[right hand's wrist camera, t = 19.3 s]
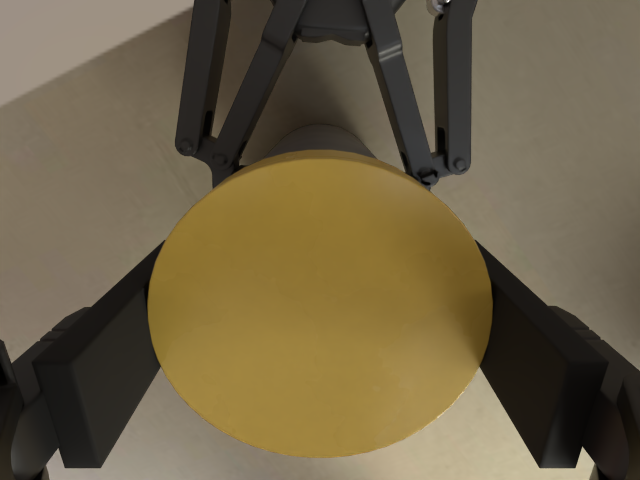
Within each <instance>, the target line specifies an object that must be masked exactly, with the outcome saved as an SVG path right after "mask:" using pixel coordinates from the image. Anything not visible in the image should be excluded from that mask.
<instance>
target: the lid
mask: <svg viewBox="0 0 640 480" xmlns="http://www.w3.org/2000/svg"><path fill="white" fill-rule="evenodd" d="M147 312H148V323H149V329H150V334H151V340H152V345H153V348H154V351H155V354H156V356H157V359H158V361H159V363H160V365H161V367H162V369H163V371H164V373H165V375H166V377H167V378H168V380H169V381H170V383H171V384H172V386H173V387H174V389H175V390H176V392H177V393H178V394H179V395H180V396H181V397H182V398H183V400H184V401H185V402H186V403H187V404H188V405H189V406H190V407H191V408H192V409H193V410H194V411H195V412H196V413H198V414H199V415H200V416H201V417H202V418H203V419H205V420H206V421H207V422H209V423H210V424H212V425H213V426H214V427H216V428H217V429H219V430H221V431H222V432H224V433H226V434H228V435H230V436H231V437H233V438H235V439H237V440H240V441H242V442H244V443H247V444H249V445H251V446H254V447H257V448H261V449H264V450H267V451H270V452H275V453H280V454H285V455H290V456H299V457H309V458H331V457H342V456H351V455H356V454H361V453H366V452H370V451H373V450H376V449H380V448H383V447H386V446H389V445H391V444H394V443H396V442H398V441H401V440H403V439H405V438H407V437H409V436H411V435H412V434H414V433H416V432H418V431H420V430H421V429H423V428H424V427H426V426H427V425H429V424H430V423H431V422H433V421H434V420H436V419H437V418H438V417H439V416H440V415H442V414H443V413H444V412H445V411H446V410H447V409H448V408H449V407H451V406H452V404H453V403H454V402H455V401H456V400H457V399H458V398H459V397H460V395H461V394H462V393H463V392H464V391H465V389H466V388H467V386H468V385H469V383H470V382H471V380H472V379H473V377H474V376H475V374H476V372H477V370H478V368H479V366H480V364H481V362H482V360H483V357H484V354H485V351H486V348H487V345H488V342H489V336H490V331H491V325H492V318H493V298H492V290H491V282H490V278H489V275H488V271H487V268H486V264H485V261H484V259H483V257H482V255H481V252H480V250H479V248H478V246H477V244H476V242H475V240H474V239H473V237H472V236H471V234H470V233H469V231H468V230H467V228H466V227H465V225H464V224H463V223H462V222H461V220H460V219H459V218H458V217H457V216H456V215H455V214H454V213H453V212H452V211H451V210H450V208H449V207H448V206H447V205H445V204H444V203H443V202H442V201H441V200H440V199H438V198H437V197H436V196H435V195H434V194H432V193H431V192H430V191H429V190H428V189H426V188H425V187H424V186H423V185H422V184H420V183H419V182H418V181H417V180H415V179H414V178H413V177H411V176H409V175H408V174H406V173H404V172H403V171H401V170H399V169H398V168H396V167H394V166H391V165H389V164H387V163H384V162H382V161H380V160H377V159H375V158H371V157H367V156H364V155H360V154H357V153H352V152H344V151H337V150H303V151H296V152H288V153H284V154H280V155H276V156H273V157H269V158H265V159H263V160H260V161H258V162H256V163H253V164H251V165H249V166H246V167H244V168H243V169H241V170H239V171H238V172H236V173H234V174H233V175H231V176H229V177H228V178H226V179H225V180H224V181H222V182H221V183H220V184H219V185H217V186H216V187H215V188H214V189H212V190H211V191H210V192H209V193H208V194H206V195H205V196H204V197H203V198H202V199H201V200H199V201H198V202H197V203H196V204H195V205H193V206H192V207H191V209H190V210H189V211H188V212H187V213H186V214H185V215H184V216H183V217H182V218H181V219H180V221H179V222H178V223H177V224H176V226H175V227H174V228H173V230H172V231H171V233H170V234H169V236H168V237H167V239H166V240H165V242H164V244H163V246H162V248H161V251H160V253H159V255H158V257H157V259H156V261H155V265H154V268H153V272H152V275H151V279H150V283H149V291H148V299H147Z"/></svg>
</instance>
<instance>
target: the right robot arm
mask: <svg viewBox="0 0 640 480" xmlns="http://www.w3.org/2000/svg"><path fill="white" fill-rule="evenodd" d="M164 242H165V240H164V241H163V242H162V243H161V244H160V245H159V246H158V247H156V248H155V249H154V250H153V251H152V252H151V253H150V254H149V255H148V256H147V257H145V258H144V259H143V260H142V261H141V262H140V263H139V264H138V265H137V266H136V267H135V268H133V269H132V270H131V271H130V272H129V273H128V274H127V275H126V276H125V277H124V278H123V279H121V280H120V281H119V282H118V283H117V284H116V285H115V286H114V287H113V288H112V289H110V290H109V291H108V292H107V293H106V294H105V295H104V296H103V297H102V298H101V299H100V300H98V301H97V302H96V303H95V304H94V305H93V306H92V307H84V308H82V309H80V310H78V311H76V312H75V313H73V314H71V315H69V316H67V317H65V318H64V319H63V320H62V321H61V322H59V323H58V324H57V325H56V326H55V327H54V328H52V331H49V332H48V333H47V334H45V335H44V336H43V337H42V338H41V339H40V341H37V342H36V343H35V344H34V345H33V346H31V347H30V348H29V349H28V350H27V351H26V352H25V353H23V354H22V355H21V356H20V357H19V358H18V359H16V360H15V361H14V362H13V363H12V364H11V361H10V358H9V355H8V353H7V350H6V347H5V344H4V341H2V340H0V480H49V474H48V470H47V467H46V464H47V462H48V461H49V460H50V458H51V457H52V456H53V454H54V453H55V452H56V450H57V449H58V448H59V451H60V454H61V457H62V460H63V464H64V467H65V468H101V467H102V465H103V463H104V462H105V460H106V458H107V457H108V455H109V453H110V451H111V450H112V448H113V446H114V445H115V443H116V441H117V440H118V438H119V436H120V435H121V433H122V431H123V430H124V428H125V426H126V424H127V423H128V421H129V419H130V418H131V416H132V414H133V413H134V411H135V409H136V408H137V406H138V404H139V403H140V401H141V399H142V397H143V396H144V394H145V392H146V391H147V389H148V387H149V386H150V384H151V382H152V381H153V379H154V377H155V376H156V374H157V372H158V370H159V369H160V367H161V365H160V363H159V361H158V359H157V356H156V354H155V351H154V348H153V345H152V340H151V334H150V329H149V323H148V312H147V299H148V291H149V283H150V279H151V275H152V272H153V268H154V265H155V261H156V259H157V257H158V255H159V253H160V251H161V248H162V246H163V244H164ZM475 242H476V244H477V246H478V248H479V250H480V252H481V255H482V257H483V259H484V261H485V264H486V268H487V271H488V275H489V278H490V282H491V290H492V298H493V318H492V325H491V331H490V336H489V342H488V345H487V348H486V351H485V354H484V357H483V360H482V362H481V364H480V366H479V367H480V368H481V370H482V372H483V373H484V375H485V377H486V379H487V380H488V382H489V384H490V385H491V387H492V389H493V390H494V392H495V394H496V395H497V397H498V399H499V400H500V402H501V404H502V405H503V407H504V409H505V411H506V412H507V414H508V416H509V417H510V419H511V421H512V422H513V424H514V426H515V427H516V429H517V431H518V432H519V434H520V436H521V438H522V439H523V441H524V443H525V444H526V446H527V448H528V449H529V451H530V453H531V454H532V456H533V458H534V459H535V461H536V463H537V465H538V466H539V468H576V465H577V461H578V458H579V455H580V452H581V449H582V446H583V448H584V449H585V450H586V452H587V453H588V454H589V456H590V457H591V458H592V460H593V461H594V462H595V464H594V467H593V470H592V473H591V476H590V479H589V480H640V371H639V370H638V369H637V368H636V367H634V366H633V365H632V364H631V363H630V362H629V361H627V360H626V359H625V358H624V357H623V356H622V355H620V354H619V353H618V352H617V351H616V350H615V349H613V348H612V347H611V346H610V345H609V344H607V343H606V342H605V341H604V340H601V339H600V337H599V336H598V335H597V334H596V333H595V332H593V331H592V330H589V327H588V326H586V325H585V324H584V323H583V322H582V321H581V320H579V319H578V318H577V317H576V316H574V315H572V314H571V313H569V312H567V311H565V310H563V309H561V308H559V307H557V306H547V305H546V304H545V303H544V302H543V301H542V300H541V299H540V298H539V297H537V296H536V295H535V294H534V293H533V292H532V291H531V290H530V289H529V288H528V287H527V286H525V285H524V284H523V283H522V282H521V281H520V280H519V279H518V278H517V277H516V276H514V275H513V274H512V273H511V272H510V271H509V270H508V269H507V268H506V267H505V266H504V265H502V264H501V263H500V262H499V261H498V260H497V259H496V258H495V257H494V256H493V255H491V254H490V253H489V252H488V251H487V250H486V249H485V248H484V247H483V246H482V245H481V244H479V243H478V242H477V241H476V240H475Z"/></svg>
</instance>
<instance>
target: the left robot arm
mask: <svg viewBox="0 0 640 480" xmlns="http://www.w3.org/2000/svg"><path fill="white" fill-rule="evenodd" d="M405 1H406V0H271V2H272V4H273V5H274V8H273V10H272V13H271V15H270V17H269V19H268V22H267V24H266V26H265V28H264V31H263V34H262V38H261V42H260V44H259V47H258V49H257V51H256V53H255V56H254V58H253V60H252V62H251V65H250V67H249V69H248V71H247V73H246V76H245V78H244V80H243V82H242V85H241V87H240V89H239V91H238V94H237V96H236V98H235V100H234V102H233V105H232V107H231V109H230V111H229V114H228V116H227V118H226V120H225V123H224V125H223V127H222V129H221V132H220V134H219V136H218V138H215V137H213V136H211V133H212V127H213V121H214V115H215V109H216V104H217V98H218V92H219V86H220V80H221V74H222V68H223V62H224V56H225V50H226V44H227V38H228V32H229V26H230V19H231V0H194V7H193V14H192V21H191V29H190V36H189V43H188V51H187V58H186V65H185V72H184V80H183V87H182V94H181V101H180V109H179V116H178V123H177V130H176V138H175V147H176V149H177V151H178V152H179V153H180V154H182V155H184V156H192V157H194V158H196V159H199V160H201V161H203V162H205V163H206V164H207V165H208V166H209V167H210V169H211V171H212V182H213V189H214V188H215V187H216V186H217V185H219V184H220V183H221V182H222V181H224V180H225V179H226V178H228V177H229V176H231V175H233V174H234V173H236V172H238V171H239V170H241V169H243V168H244V167H246V165H240V166H239V160H240V159H241V158H242V156H241V155H242V153H243V151H244V149H245V146H246V144H247V142H248V140H249V138H250V136H251V134H252V132H253V130H254V128H255V125H256V123H257V121H258V119H259V117H260V115H261V113H262V111H263V109H264V107H265V104H266V102H267V100H268V98H269V96H270V94H271V92H272V90H273V88H274V86H275V83H276V81H277V79H278V77H279V75H280V73H281V71H282V69H283V67H284V65H285V62H286V60H287V59H288V57H289V56H290V54H291V52H292V50H293V48H294V46H295V44H296V42H297V40H298V38H299V39H301V40H302V42H312V43H318V42H323V41H327V40H334V41H337V42H339V43H342V44H344V45H351V46H361V44H365V47H366V50H367V54H368V57H369V60H370V62H371V64H372V66H373V69H374V72H375V75H376V78H377V81H378V85H379V88H380V91H381V94H382V98H383V101H384V104H385V107H386V111H387V114H388V117H389V120H390V124H391V127H392V130H393V133H394V136H395V140H396V143H397V146H398V149H399V153H400V156H401V159H402V162H403V166H404V169H405V171H406V172H405V173H406V174H408V175H409V176H411V177H413V178H414V179H415V180H417V181H418V182H419V183H420V184H422V185H423V186H424V187H425V188H426V189H428V190H429V191H430V188H431V187H432V186H434V185H435V184H436V183H437V182H438V180H439V178H441V177H445V176H449V175H452V174H455V175H461V174H464V173H465V172H466V171H468V169H469V167H470V164H471V65H472V16H473V13H474V10H475V7H476V4H477V0H427V5H426V6H427V10H428V12H429V13H430V14H431V15H433V16H435V21H434V28H433V68H434V110H435V151H436V152H433V153H431V152H430V149H429V145H428V142H427V138H426V135H425V131H424V127H423V124H422V120H421V117H420V113H419V110H418V106H417V103H416V99H415V95H414V92H413V88H412V85H411V81H410V78H409V74H408V71H407V67H406V63H405V60H404V56H403V52H402V41H401V37H400V33H399V30H398V26H397V23H396V19H395V15H394V14H395V13H396V12H397V11H398V9H399V8H400V7H401V6H402V4H403V3H404V2H405Z"/></svg>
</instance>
